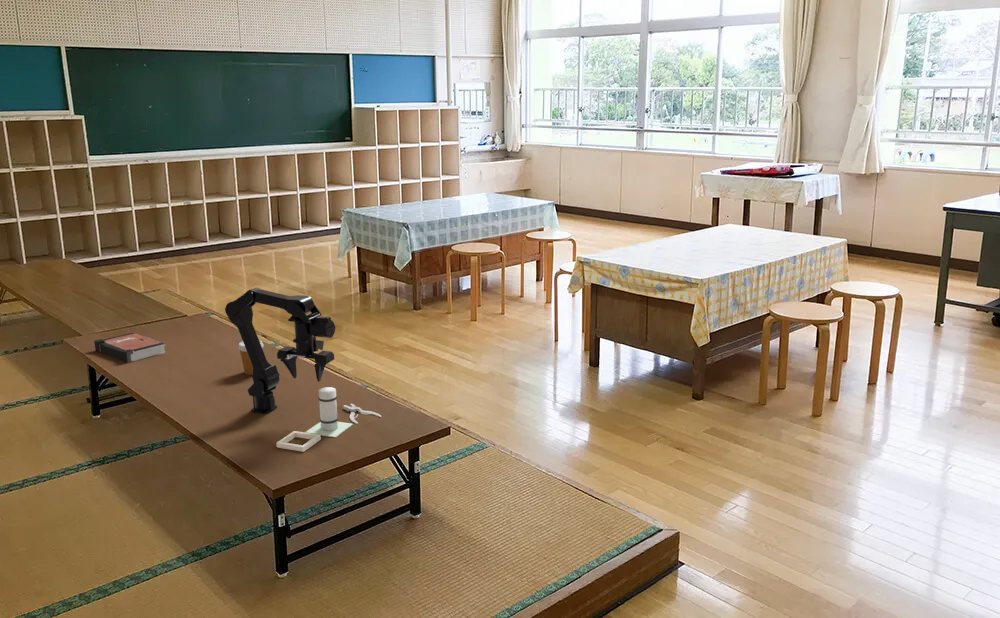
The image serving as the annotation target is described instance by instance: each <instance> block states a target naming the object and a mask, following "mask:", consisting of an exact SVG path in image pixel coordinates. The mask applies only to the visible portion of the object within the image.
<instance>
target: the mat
mask: <svg viewBox="0 0 1000 618" xmlns="http://www.w3.org/2000/svg"><path fill="white" fill-rule="evenodd" d="M353 426H354V423H350V422H343V421H338V428H337V429H336V430H333V431H323V430H321V422H320V421H319V422H318V423H316V424H314V425H313V426H312V427H311V428H309V429H307V430H306V431H305V433H311V434H317V435H321V436H323V437H330V438H335V439H336V438H337V437H339V436H340V435H342V434H343V433H344V432H346V431H347V430H348V429H349V428H350V427H353Z"/></svg>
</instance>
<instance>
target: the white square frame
mask: <svg viewBox="0 0 1000 618" xmlns="http://www.w3.org/2000/svg"><path fill="white" fill-rule="evenodd" d="M305 432H306V431H305ZM305 432H303V431H297V430H293V431H292V432H290V433H288V435H286V436H284V437H283V438H282V439H280V440H278V441H276V448H280V449H285V450H291V451H297V452H303V453H304V452H306V451H307V450H308V449H310V448H311V447H312V446H314V445H315V444H317V443H318V442H320V441H321V439H322V437H321V435H317V434H311V433H305ZM294 438H301V439H307V440H308V441H307V442H305V443H304V444H303V445H302V444H297V443H296V444H295V443H290V441H292V440H293V439H294Z"/></svg>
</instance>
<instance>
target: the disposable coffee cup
mask: <svg viewBox="0 0 1000 618" xmlns="http://www.w3.org/2000/svg"><path fill="white" fill-rule="evenodd" d="M259 342H260V344H261V347H262V349H264V343H263V341H262V340H261V339H259ZM237 348H238V351H239V353H240V357H241V362H242V367H243V371H244V374H245V375H248V376H252V373H253V366H252V363H251V360H250V358H249V355H248V353H247V350H246V348H245V345H244V343H243V340H242V341H241V342H239V343H238V347H237Z"/></svg>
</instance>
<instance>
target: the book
mask: <svg viewBox="0 0 1000 618" xmlns="http://www.w3.org/2000/svg"><path fill="white" fill-rule="evenodd" d="M93 343H94V348H95V349H94V350H95V352H98V353H101V354H104V355H107V356H110V357H112V358H116V359H117V360H120V361H123V363H126V364H131V363H135V362H137V361H142V360H145V359H150V358H154V357H156V356H160V355H163V354H167V352H166V349H165V346H166V343H164V342H161V341H158V340H156V339H152V338H151V336H144V335H140V334H138V333H134V332H129V333H126V334H122V335H117V336H113V337H109V338H105V339H103V338H100V339H95V340H93Z"/></svg>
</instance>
